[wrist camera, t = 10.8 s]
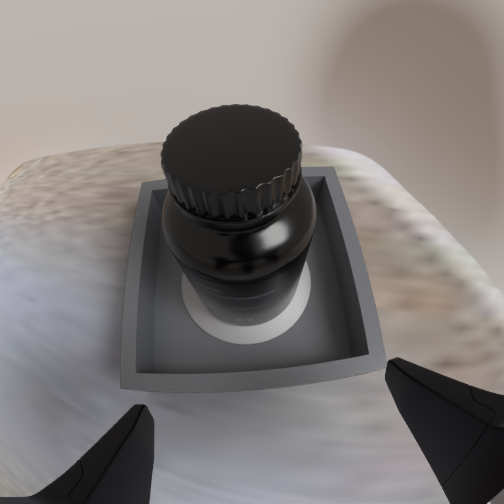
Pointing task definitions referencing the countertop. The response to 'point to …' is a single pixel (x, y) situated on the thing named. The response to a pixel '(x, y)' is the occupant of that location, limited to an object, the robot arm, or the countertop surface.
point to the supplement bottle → (238, 210)
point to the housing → (249, 337)
